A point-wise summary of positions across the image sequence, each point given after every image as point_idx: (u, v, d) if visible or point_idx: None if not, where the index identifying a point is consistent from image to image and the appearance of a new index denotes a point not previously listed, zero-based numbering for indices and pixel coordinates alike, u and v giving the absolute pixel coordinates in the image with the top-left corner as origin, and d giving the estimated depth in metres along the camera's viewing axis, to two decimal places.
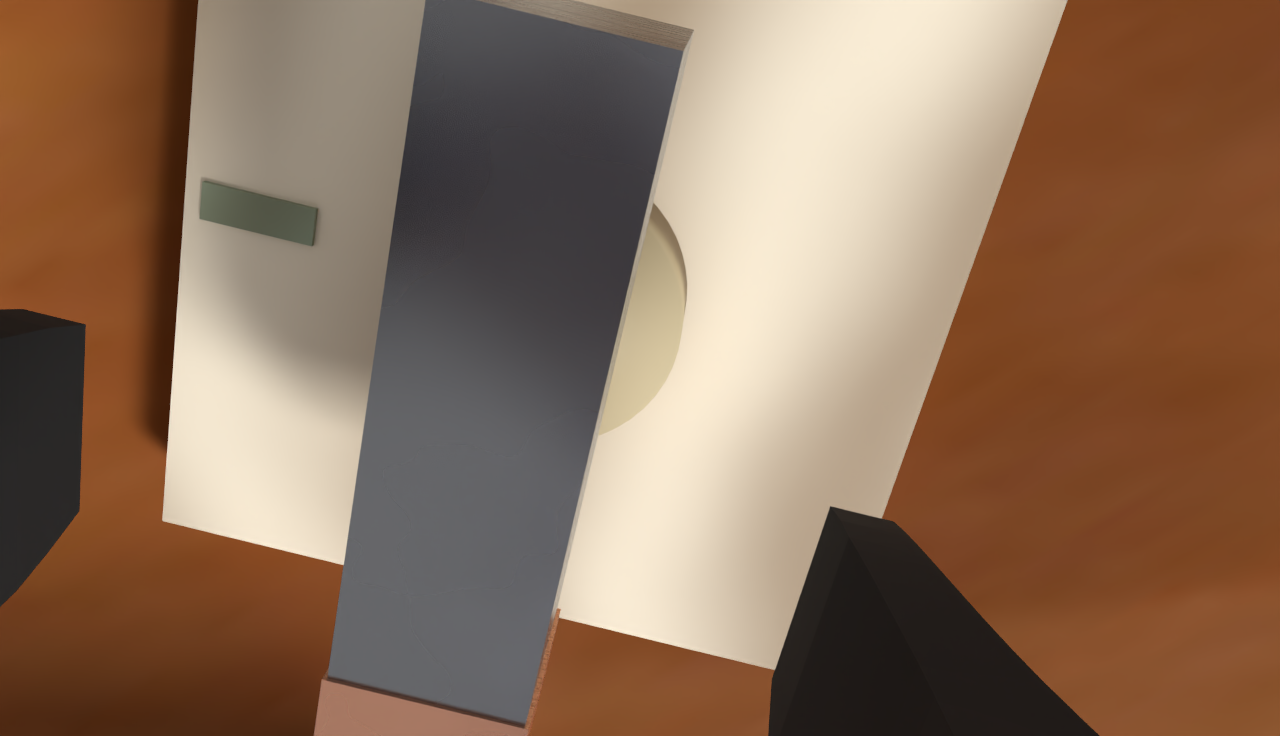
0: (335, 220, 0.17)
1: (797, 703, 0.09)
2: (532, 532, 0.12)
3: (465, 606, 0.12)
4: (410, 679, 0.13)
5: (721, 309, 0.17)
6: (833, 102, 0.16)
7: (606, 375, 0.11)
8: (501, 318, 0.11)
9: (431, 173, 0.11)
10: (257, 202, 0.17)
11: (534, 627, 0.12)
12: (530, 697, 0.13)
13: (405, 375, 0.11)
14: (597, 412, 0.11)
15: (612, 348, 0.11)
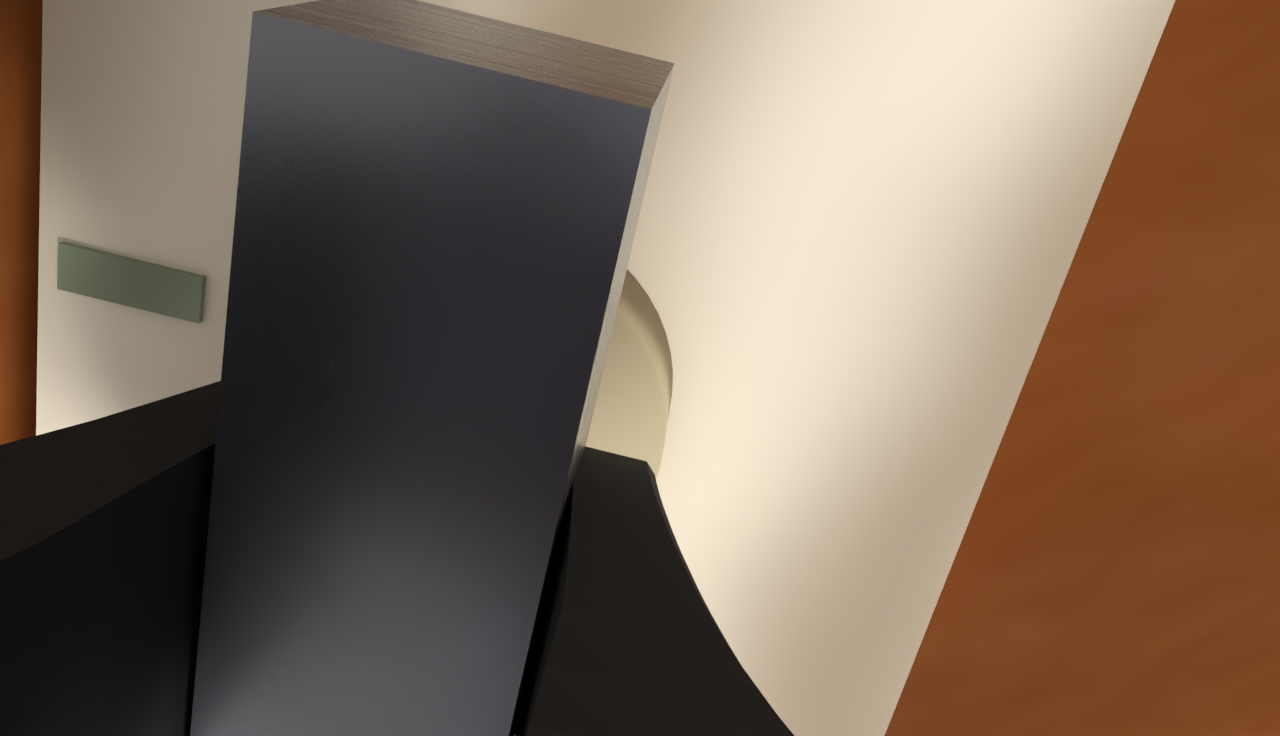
0: (228, 291, 0.14)
1: None
2: None
3: None
4: None
5: (716, 403, 0.14)
6: (860, 146, 0.12)
7: (543, 575, 0.08)
8: (388, 493, 0.08)
9: (275, 288, 0.07)
10: (129, 269, 0.13)
11: None
12: None
13: (253, 569, 0.08)
14: (532, 624, 0.08)
15: (551, 538, 0.08)
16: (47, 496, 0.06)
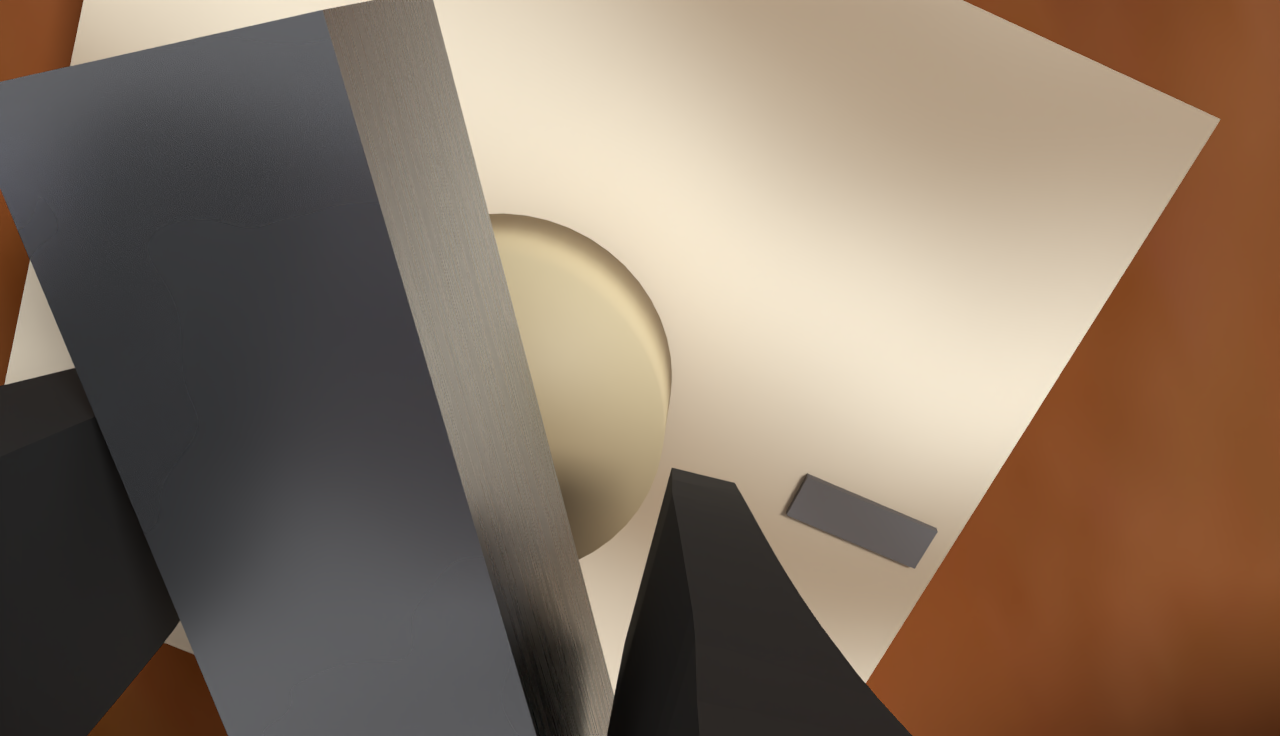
0: None
1: (629, 662, 0.09)
2: None
3: None
4: None
5: (565, 176, 0.13)
6: None
7: (465, 503, 0.08)
8: (293, 485, 0.08)
9: (104, 334, 0.07)
10: None
11: None
12: None
13: (221, 606, 0.08)
14: (481, 557, 0.08)
15: (453, 464, 0.07)
16: None
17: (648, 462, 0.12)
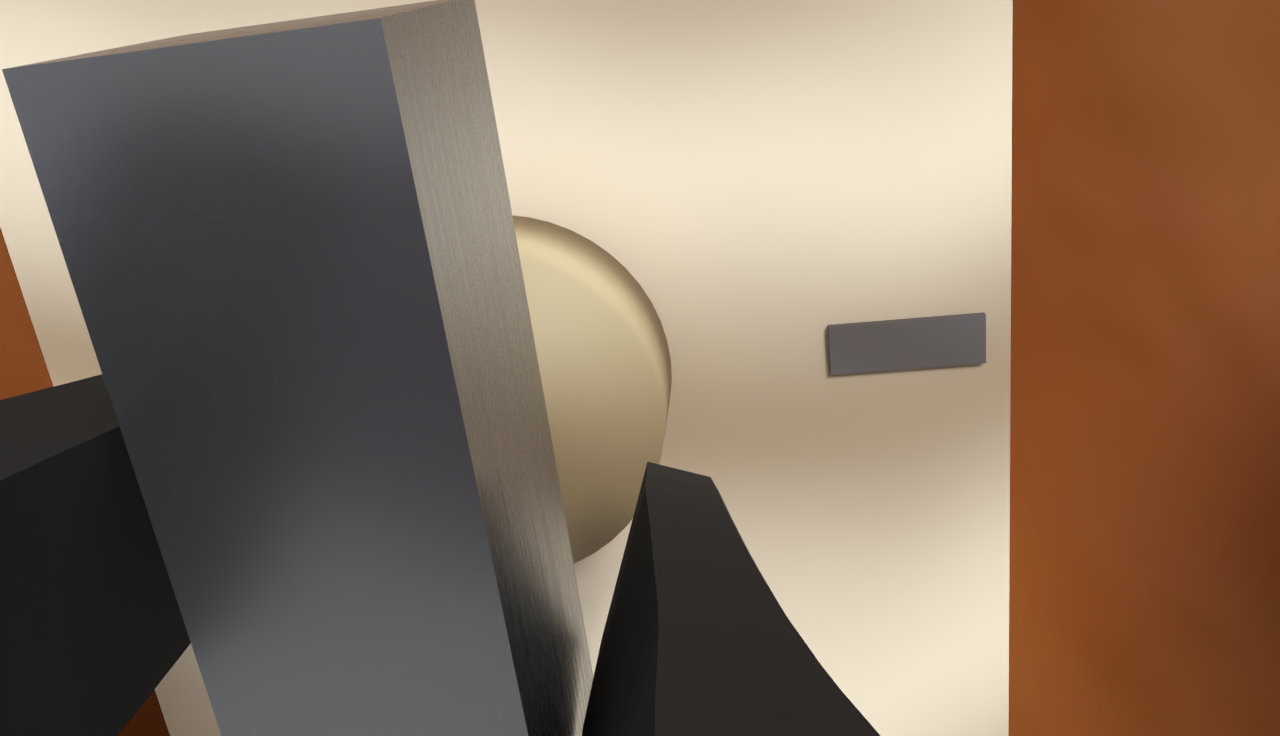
0: None
1: (604, 656, 0.09)
2: None
3: None
4: None
5: None
6: None
7: (480, 517, 0.08)
8: (307, 485, 0.08)
9: (129, 323, 0.07)
10: None
11: None
12: None
13: (223, 601, 0.08)
14: (491, 570, 0.08)
15: (471, 477, 0.07)
16: None
17: (645, 384, 0.12)
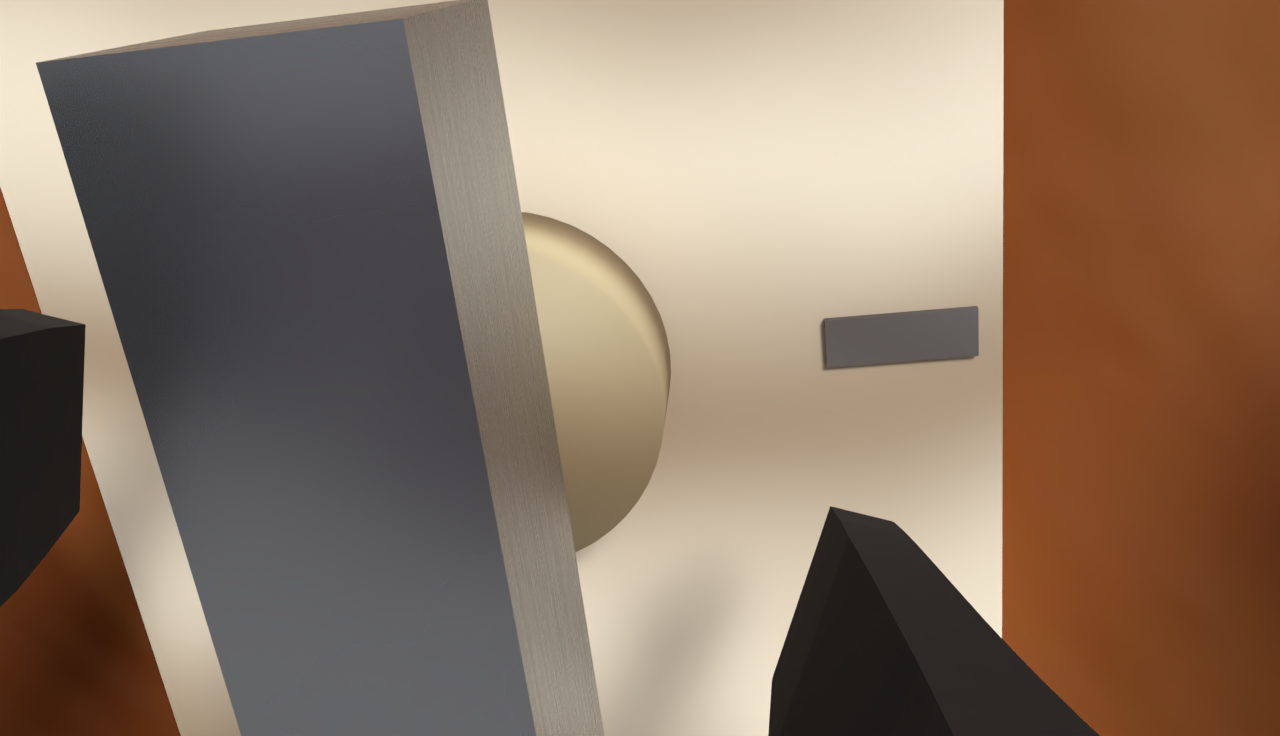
0: None
1: (797, 703, 0.09)
2: (483, 731, 0.09)
3: None
4: None
5: None
6: None
7: (489, 500, 0.08)
8: (323, 468, 0.08)
9: (153, 309, 0.07)
10: None
11: None
12: None
13: (239, 580, 0.08)
14: (500, 552, 0.08)
15: (482, 462, 0.08)
16: None
17: (645, 376, 0.12)
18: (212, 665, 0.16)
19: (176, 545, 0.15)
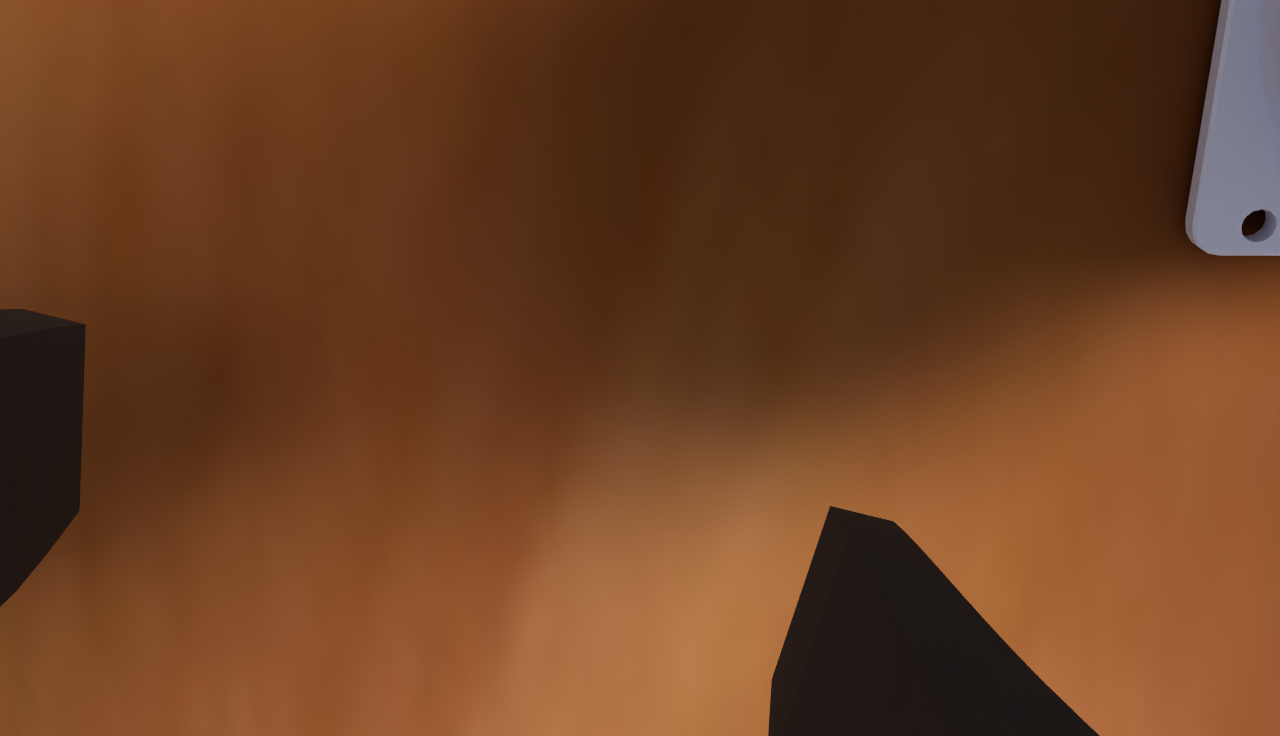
0: None
1: (797, 702, 0.09)
2: None
3: None
4: None
5: None
6: None
7: None
8: None
9: None
10: None
11: None
12: None
13: None
14: None
15: None
16: None
17: None
18: None
19: None
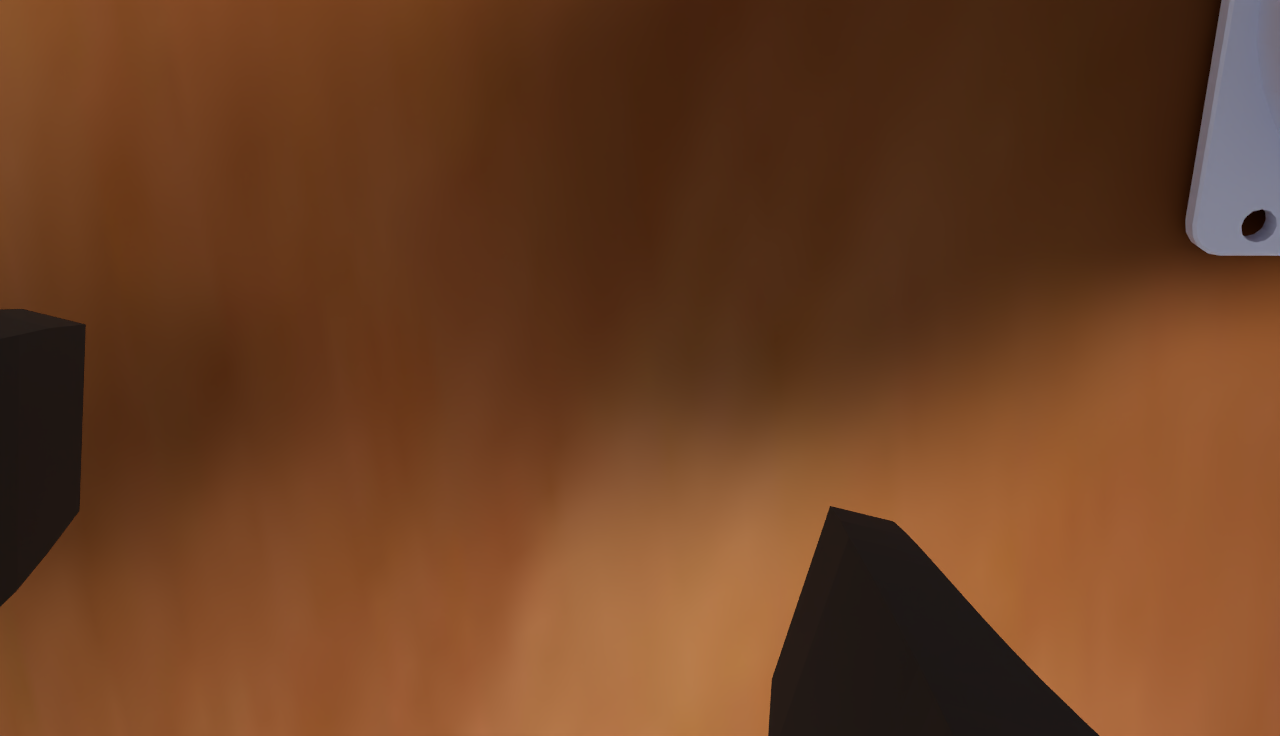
0: None
1: (797, 702, 0.09)
2: None
3: None
4: None
5: None
6: None
7: None
8: None
9: None
10: None
11: None
12: None
13: None
14: None
15: None
16: None
17: None
18: None
19: None
